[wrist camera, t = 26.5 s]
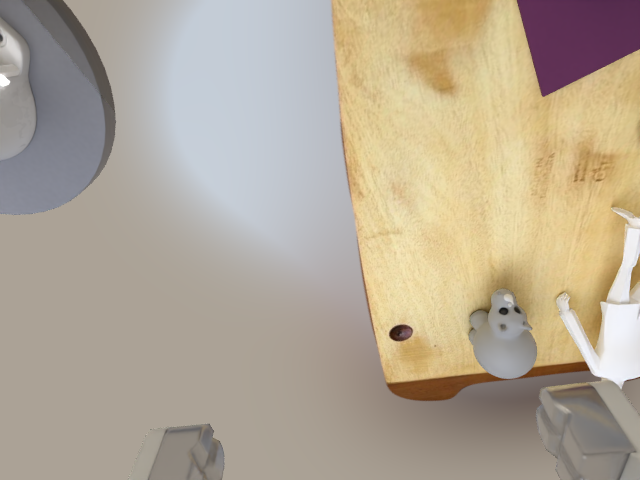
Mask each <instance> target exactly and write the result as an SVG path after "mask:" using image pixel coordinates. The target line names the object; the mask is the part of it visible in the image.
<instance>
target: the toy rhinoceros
mask: <svg viewBox="0 0 640 480" xmlns="http://www.w3.org/2000/svg"><path fill="white" fill-rule="evenodd" d="M491 304H492V307H491V309H490V311H489V314H488V313H487V312H485V311H482V310H479V311H476V312H474V313H473V314H472V315H471V316H470V323H471V325H472V326H473V328H474V329H473V330H471V331H470V333H469V340H470V342H471V343H472V345H473V350H474V354H475V357H476V359H477V361H478V362H479V364H480V365H481V366H482V367H483V368H484V369H485V370H486V371H487V372H489V373H490V374H492V375H494V376H497V377H500V378H505V379H511V378H517V377H520V376H522V375H524V374H526V373H527V372H528V371H529V370H530V369H531V368H532V367H533V365H534V363H535V361H536V357H537V346H536V342H535V340H534V338H533V336H532V334H531V333H530V332H529V331H528V330H532V327H531V326H530V325H529V324H528V322H527V316H526V313H525V311H524V310H523V309H522V308H521V307H520V306H519V305H518V304H517V301H516V297H515V295H514V293H513V292H511V291H510V290H508V289H498V290H496V291H495V292H494V293H493V294H492V296H491Z"/></svg>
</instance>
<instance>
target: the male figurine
mask: <svg viewBox="0 0 640 480" xmlns="http://www.w3.org/2000/svg"><path fill="white" fill-rule="evenodd" d="M611 210H612V211H614V212H615V213H617V214H619V215H620V216H622V217H624V218H625V219H626V220H627V221H628V223H629V224H625V238H624V255H623V262H622V265H621V267H620V268H619V270H618V273H617V275H616V277H615V280H614V282H613V284H612V286H611V288H610V290H609V292H608V297H607V300H606V302H603V301H602V302H600V305H601V311H602V323H601V328H600V333H599V338H598V342H597V345H596V347H595V350H594V349H593V347H592V346H591V344H590V342H589V340H588V338H587V336H586V333H585V331H584V329H583V327H582V325H581V323H580V321H579V319H578V317H577V315H576V313H575V311H574V310H572V308H570V309H569V305H568V301H569V299H570V297H568V294H566V292H564V293H563V294H561V295H559V297H558V298H557V306H558V308H559V310H560V311H559V315H560V317H561V318H562V320H563V322H564V324H565V326H566V328H567V329H568V331H569V333H570V335H571V336H572V338H573V340H574V341H575V343H576V345H577V346H578V348H579V350H580V352H581V354H582V356H583V358H584V359H585V361H586V363H587V364H588V366H589V368H590V370H591V373H592V374H594V375H595V376H598V377H602V379H601V381H607V380H610V381H613V382H615V383H616V384H618V386H619V387H620V388H622V385H623V384H624V381H626V380H628V379H634V378H637V377H640V281H639V282H638V283H637V284H636V285H635V286H634V287H633V288H632V289H631V291H630V292H629V289H630V280H631V272H632V269H633V267H634V266H636V263H637V260H638V257H639V254H640V217H635V216H634V215H633V214H632V213H631V212H629V211H627V210H625V209H622V208H616V207H612V208H611ZM567 297H568V298H567Z"/></svg>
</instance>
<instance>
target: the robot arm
mask: <svg viewBox="0 0 640 480" xmlns="http://www.w3.org/2000/svg"><path fill="white" fill-rule="evenodd" d="M0 34H1V35H2V37H3V40H1V39H0V161H1V160H5V159H9V158H11V157H14V156H16V155H17V154H19V153H20V152H22V151H23V150H24V149H25V148H26V147H27V146H28V144H29V143H30V141H31V140H32V138H33V135H34V132H35V128H36V120H37V115H36V106H35V101H34V97H33V94H32V90H31V87H30V83H29V78H28V72H29V64H30V50H29V46H28V44H27V42H26V41H25V39H24V38H23V37H22V36H21V35H20V34H19V33H18V32H17V31H15V30H14V29H13V28H12V27H11V26H10V25H9V24H8V23H6V22H5V21H4V20H3V19H2V18H1V17H0ZM539 398H540V400H541V402H542V405H541V406H540V407H538V408H537V413H536V421H537V427H538V431H539V434H540V437H541V440H542V442H543V444H544V446H545V448H546V450H547V451H548V452H550V453H551V454H552V455H553V456H555V457H556V458H557V459H558V460H557V465H556V472H557V474H558V476H559V478H560V480H640V414H639V413H638V412H637V410H636V409H635V407H634V406H633V405H632V403H631V402H630V401H629V399H628V398H627V397H626V395H625V394H624V392H623V391H622V390H621V388H620V387H619V386H618V384H616V383H615V382H613V381H610V380H607V381H598V382H590V383H586V382H585V383H577V384H569V385H561V386H553V387H545V388H542V389H541V390H540V394H539ZM213 433H214V430H213V429H212V427H211V426H210V424H201V425H191V426H181V427H168V428H158V429H151V430H150V431H149V432H148V434H147V435H146V436H145V438H144V441H143V443H142V446H141V448H140V451H139V454H138V456H137V458H136V461H135V463H134V466H133V469H132V471H131V474H130V476H129V479H128V480H222V476H223V471H224V451H223V447H222V445H221V443H220V441H219V440H217V439H215V438H213Z"/></svg>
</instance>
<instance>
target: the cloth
mask: <svg viewBox="0 0 640 480" xmlns="http://www.w3.org/2000/svg"><path fill="white" fill-rule="evenodd" d="M517 2H518V6H519V10H520V14H521V18H522V21H523V25H524V29H525V33H526V37H527V40H528V44H529V48H530V52H531V56H532V59H533V63H534V67H535V71H536V74H537V78H538V82H539V86H540V90H541V93H542V96H543V97H544V96H546V95H548V94H550V93H552V92H554V91H556V90H558V89H560V88H562V87H564V86H566V85H568V84H570V83H572V82H574V81H576V80H578V79H580V78H582V77H584V76H586V75H588V74H590V73H592V72H594V71H596V70H598V69H600V68H602V67H605V66H607V65H609V64H611V63H613V62H615V61H617V60H619V59H621V58H623V57H625V56H627V55H629V54H631V53H633V52H635V51H637V50H639V49H640V0H517Z"/></svg>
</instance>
